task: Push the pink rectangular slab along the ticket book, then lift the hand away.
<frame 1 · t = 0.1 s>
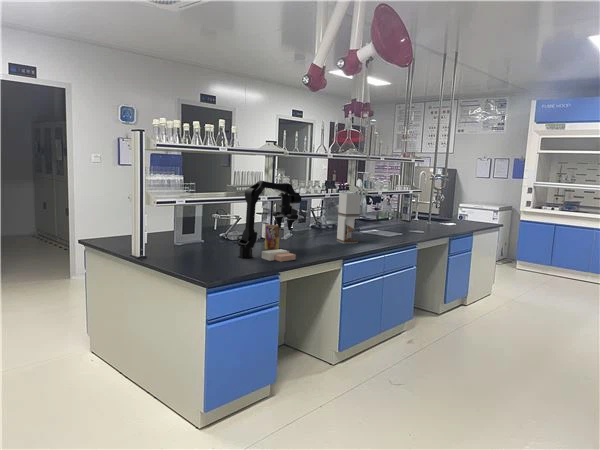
hand: (284, 229, 272), 15 cm above the worktop, fingers open, 9 cm apart
pink rectangular slab: (285, 257, 252), point 2 cm above the worktop, slide at 0.0 cm
candy box: (271, 248, 285), on the worktop
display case: (347, 242, 321), on the worktop
ticket book: (275, 258, 257), on the worktop
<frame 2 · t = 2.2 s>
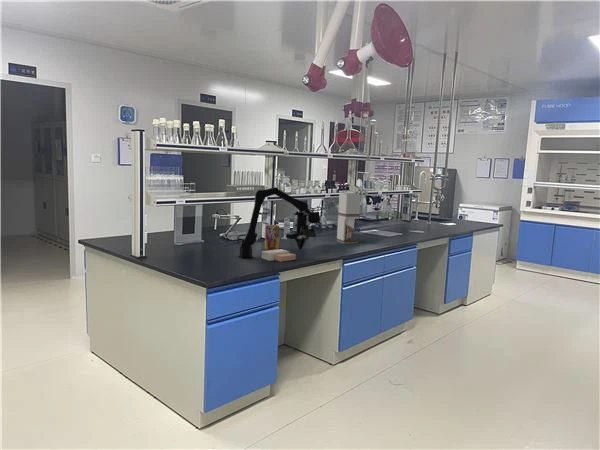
hand: (300, 249, 260), 5 cm above the worktop, fingers closed
nothing on the worktop moved.
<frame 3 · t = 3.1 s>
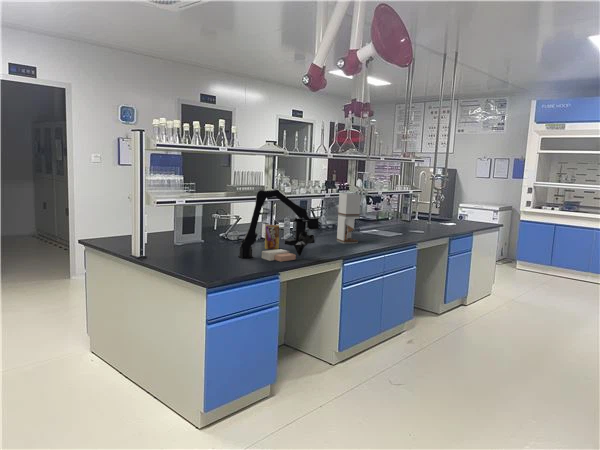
hand: (299, 255, 260), 1 cm above the worktop, fingers closed
nothing on the worktop moved.
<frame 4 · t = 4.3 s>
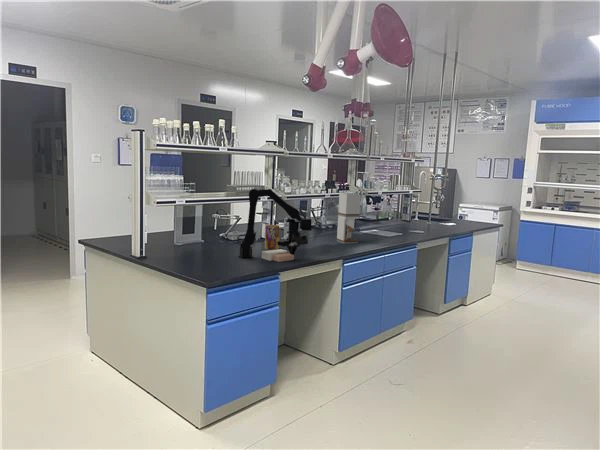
hand: (292, 256, 256), 1 cm above the worktop, fingers closed
pink rectangular slab: (283, 257, 252), point 2 cm above the worktop, slide at 1.3 cm, touching gripper
everything else where it was.
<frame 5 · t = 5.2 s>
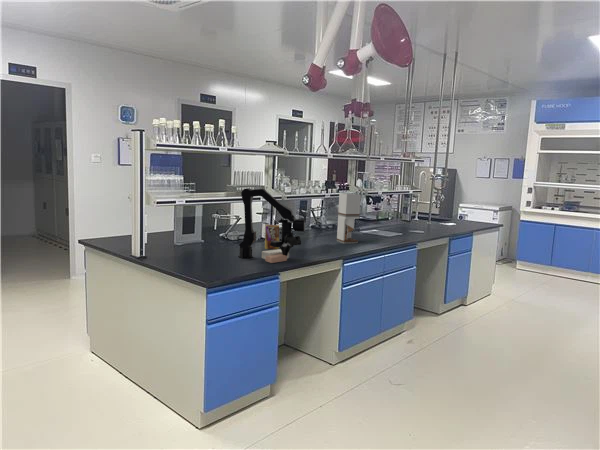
hand: (285, 257, 253), 1 cm above the worktop, fingers closed
pink rectangular slab: (276, 258, 248), point 2 cm above the worktop, slide at 6.5 cm, touching gripper
everything else where it was.
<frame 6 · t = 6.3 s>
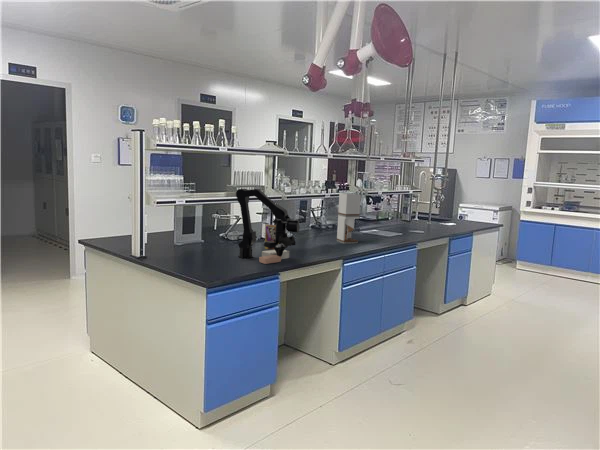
hand: (279, 258, 250), 1 cm above the worktop, fingers closed
pink rectangular slab: (270, 259, 245), point 2 cm above the worktop, slide at 10.8 cm, touching gripper
everything else where it was.
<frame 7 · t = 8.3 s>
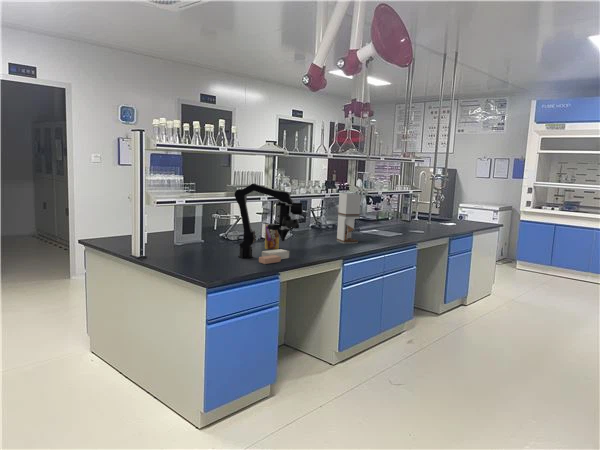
hand: (282, 241, 252), 11 cm above the worktop, fingers closed
pink rectangular slab: (269, 259, 245), point 2 cm above the worktop, slide at 11.0 cm
everything else where it was.
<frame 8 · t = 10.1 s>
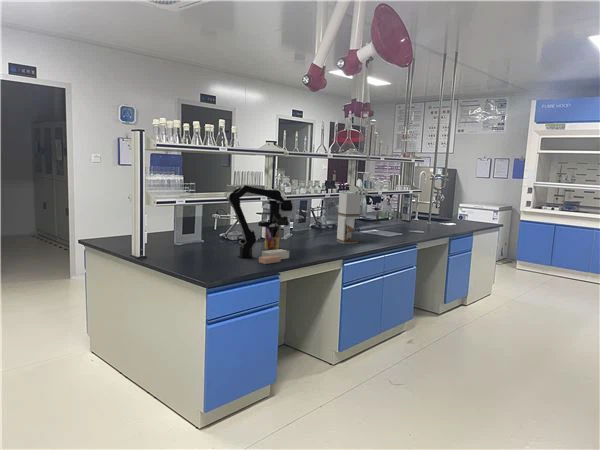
hand: (273, 237, 260), 11 cm above the worktop, fingers closed
nothing on the worktop moved.
at the end: pink rectangular slab slide at 11.0 cm; the gripper is holding nothing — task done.
